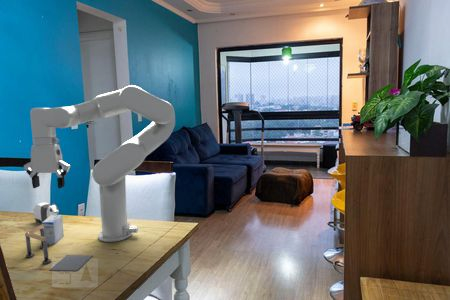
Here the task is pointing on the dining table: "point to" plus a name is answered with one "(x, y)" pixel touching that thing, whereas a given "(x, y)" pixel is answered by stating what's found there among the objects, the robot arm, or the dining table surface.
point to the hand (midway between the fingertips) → (48, 187)
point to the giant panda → (44, 211)
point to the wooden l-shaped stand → (38, 237)
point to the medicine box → (53, 229)
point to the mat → (71, 263)
